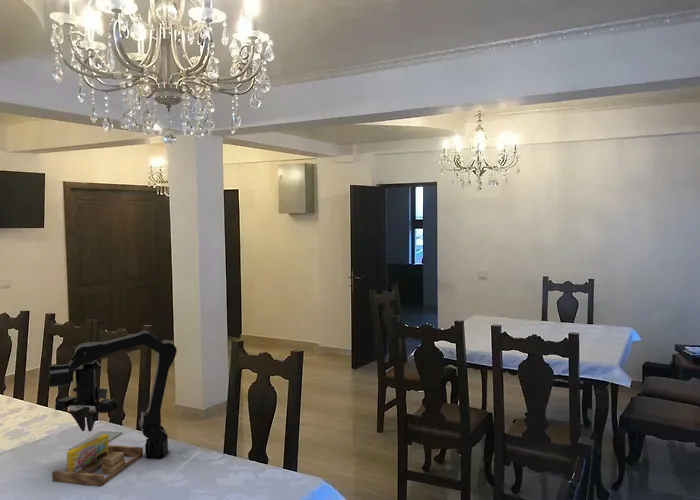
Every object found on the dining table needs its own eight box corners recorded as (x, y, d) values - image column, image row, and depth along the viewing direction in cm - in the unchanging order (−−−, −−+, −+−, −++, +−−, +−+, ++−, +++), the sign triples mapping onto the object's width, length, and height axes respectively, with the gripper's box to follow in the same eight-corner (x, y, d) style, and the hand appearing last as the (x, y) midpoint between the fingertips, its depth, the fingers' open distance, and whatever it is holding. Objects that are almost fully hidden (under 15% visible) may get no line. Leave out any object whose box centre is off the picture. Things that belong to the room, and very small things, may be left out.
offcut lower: (125, 466, 182) (125, 458, 182) (113, 475, 176) (113, 468, 175) (114, 465, 183) (113, 458, 183) (101, 475, 176) (101, 467, 176)
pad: (122, 433, 211) (122, 432, 211) (91, 452, 193) (91, 450, 193) (100, 432, 212) (100, 430, 212) (68, 451, 195) (68, 449, 195)
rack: (142, 456, 190) (142, 447, 189) (101, 486, 168) (101, 476, 168) (98, 452, 193) (98, 444, 193) (52, 482, 171) (52, 472, 171)
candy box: (71, 478, 173) (70, 452, 173) (66, 478, 174) (65, 451, 173) (109, 458, 188) (108, 434, 188) (104, 457, 189) (103, 433, 189)
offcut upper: (124, 460, 181) (123, 452, 181) (111, 467, 176) (111, 459, 176) (114, 458, 182) (114, 451, 182) (102, 466, 177) (101, 458, 176)
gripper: (126, 377, 186) (127, 423, 187) (76, 375, 190) (77, 420, 190) (105, 387, 175) (107, 436, 176) (53, 384, 179) (54, 432, 179)
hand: (86, 430), depth 180 cm, fingers closed
